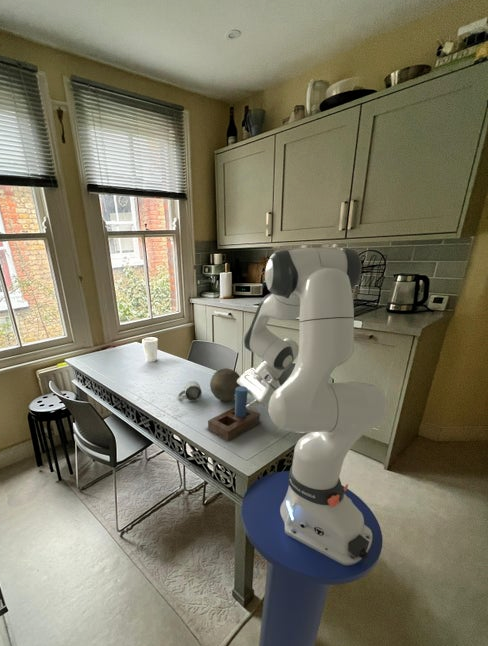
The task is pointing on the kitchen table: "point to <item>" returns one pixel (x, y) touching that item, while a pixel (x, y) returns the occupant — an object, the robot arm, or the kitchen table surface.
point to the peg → (241, 401)
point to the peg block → (232, 423)
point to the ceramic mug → (191, 391)
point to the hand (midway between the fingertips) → (241, 402)
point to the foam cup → (150, 348)
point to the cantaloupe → (224, 384)
